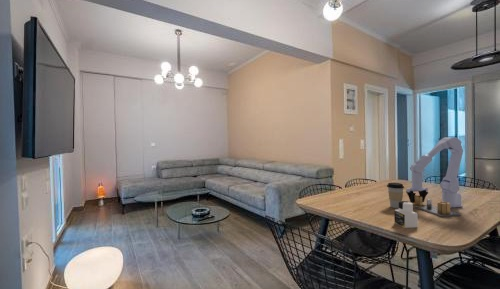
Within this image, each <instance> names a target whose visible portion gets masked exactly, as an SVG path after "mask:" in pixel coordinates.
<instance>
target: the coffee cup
mask: <svg viewBox="0 0 500 289" xmlns="http://www.w3.org/2000/svg"><path fill="white" fill-rule="evenodd" d="M386 187H387V188H388V199H389V206H390V208H393V209H399V202H400V201H403V195H404V188H405V185H404V184H403V183H399V182H389V183H387V184H386Z"/></svg>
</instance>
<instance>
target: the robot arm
mask: <svg viewBox="0 0 500 289" xmlns="http://www.w3.org/2000/svg"><path fill="white" fill-rule="evenodd" d="M444 149H445V150H448V151H449V152H450V157H449V160H448V164H447V165H448V166H447V170H446V173H445V176H444V177H443V178H442V180H441V182H440V184H439V187H440V188H441V191H442V192H441V196H442V198H441V200H442V201H443V202H448V203H450V208H460V207H463V205H462V194H461V193H460V192H459V191H460V189H461V187H460V180H459V179H458V175H459V171H460V167H461V162H462V157H463V153H464V149H463V146H462V140H460V138H458V137H455V136H454V137H446V136H445V137H442V138H441V139H439V141H438V142H437V143H436V145H434V146H433V147H432V148H431V150H430V151H429V152H428V153H427V154H423V155H420V158H419V159H418V160H417V161H415V162H414V163H412V164H411V165H410V167H409V170H410V171H411V187H409V188H406V190H405V192H406V194H407V196H408V198H409V202H411V203H414V197H415V195H417V193H416V192H418V194H419V196H422V203H424V202H425V200H426V197H427V196H428V194H429V189H428V187H423V172H424V171H425V168H426V167H427V166H429V165H430V163H432V162H433V158H434V157H435V156H436V155H437V154H439V153H440V152H442V151H443V150H444Z"/></svg>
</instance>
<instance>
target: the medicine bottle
mask: <svg viewBox="0 0 500 289" xmlns="http://www.w3.org/2000/svg"><path fill="white" fill-rule="evenodd" d="M418 215H419V214H418V213H417V212H415V211H414V205H413V204H412V203H411V202H410V201H408V200H407V201H406V200H402V201H400V202H399V208H398V209H394V218H393V219H394V224H396V225H398V226H400V227H402V228H403V229H411V228H413V229H414V228H418V225H419V224H418Z"/></svg>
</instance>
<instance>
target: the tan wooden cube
mask: <svg viewBox="0 0 500 289" xmlns="http://www.w3.org/2000/svg"><path fill="white" fill-rule="evenodd" d="M412 204H413V206H423V202H422V196H420V195H418V194H415V197H414V203H412Z"/></svg>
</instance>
